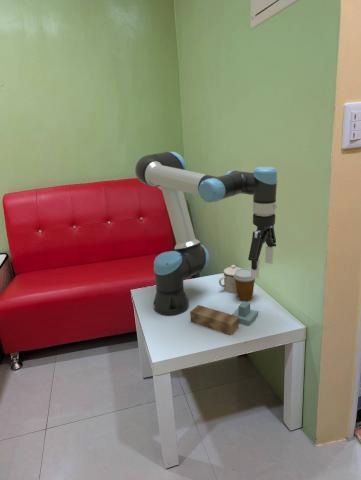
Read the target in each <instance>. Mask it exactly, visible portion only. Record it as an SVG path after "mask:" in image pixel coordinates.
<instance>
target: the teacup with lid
mask: <svg viewBox="0 0 361 480" xmlns="http://www.w3.org/2000/svg"><path fill="white" fill-rule="evenodd" d="M239 269H242V268H241V267H239V266H238V267H237V266H236V265H235V264H232V265H230V266H229V267H226V268H224V270H223V276H221V277H220V278H219V280H218V284H219V286H221V287H223V288H224V291H226V292H228V293H233V294H234V293H236V294H237V289H236V282H235V278H234V274H235V271H236V270H239ZM222 280H223V284H222Z"/></svg>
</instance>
